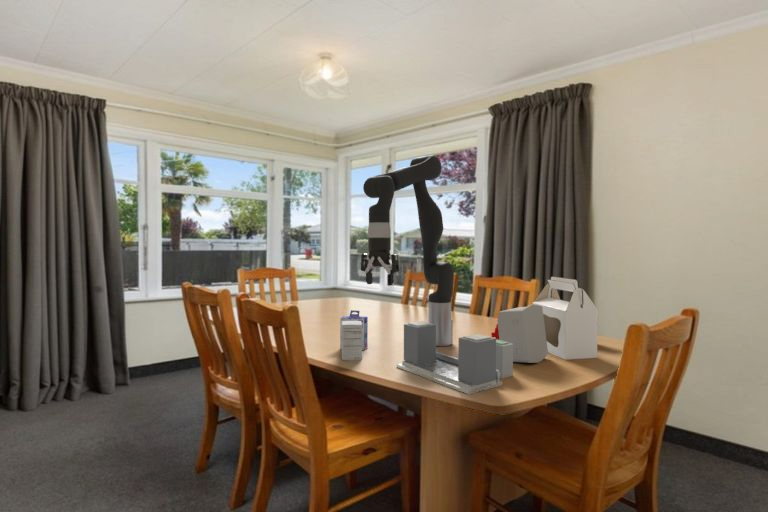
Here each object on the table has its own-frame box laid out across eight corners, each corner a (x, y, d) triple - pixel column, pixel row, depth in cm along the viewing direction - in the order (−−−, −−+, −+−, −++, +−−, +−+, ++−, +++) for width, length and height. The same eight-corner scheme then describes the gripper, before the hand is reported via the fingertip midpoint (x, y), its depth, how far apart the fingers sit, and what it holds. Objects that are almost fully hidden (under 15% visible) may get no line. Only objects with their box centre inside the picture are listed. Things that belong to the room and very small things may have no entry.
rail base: (428, 360, 154) (428, 349, 154) (502, 385, 128) (502, 371, 128) (396, 367, 145) (396, 355, 145) (469, 394, 120) (469, 380, 119)
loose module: (492, 369, 143) (492, 337, 143) (512, 375, 137) (513, 342, 137) (482, 372, 141) (482, 339, 140) (502, 378, 134) (502, 344, 134)
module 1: (421, 356, 152) (422, 320, 151) (435, 360, 146) (436, 323, 146) (403, 359, 147) (403, 323, 147) (417, 364, 141) (417, 326, 141)
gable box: (531, 345, 177) (532, 276, 176) (560, 344, 180) (561, 275, 179) (565, 360, 155) (566, 281, 154) (597, 358, 158) (599, 280, 157)
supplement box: (341, 355, 161) (341, 320, 160) (361, 354, 161) (361, 320, 161) (341, 360, 153) (341, 324, 153) (362, 360, 154) (362, 324, 154)
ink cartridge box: (368, 347, 173) (368, 310, 172) (364, 350, 167) (364, 312, 167) (344, 345, 175) (344, 309, 174) (339, 349, 169) (339, 311, 169)
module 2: (477, 374, 132) (477, 333, 131) (495, 380, 126) (496, 337, 126) (458, 379, 127) (458, 336, 127) (476, 385, 121) (477, 340, 121)
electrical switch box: (511, 356, 168) (505, 304, 169) (548, 358, 157) (541, 302, 158) (490, 364, 157) (483, 308, 159) (529, 366, 147) (521, 306, 148)
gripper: (403, 236, 146) (403, 285, 147) (369, 236, 155) (369, 282, 155) (390, 236, 140) (390, 287, 141) (355, 236, 148) (356, 284, 149)
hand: (379, 284), depth 148 cm, fingers open, 8 cm apart
